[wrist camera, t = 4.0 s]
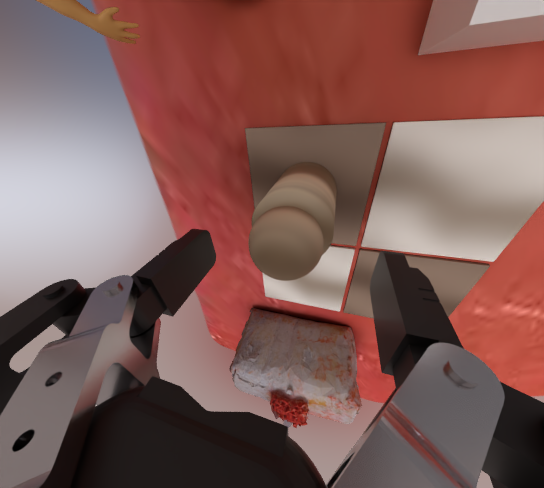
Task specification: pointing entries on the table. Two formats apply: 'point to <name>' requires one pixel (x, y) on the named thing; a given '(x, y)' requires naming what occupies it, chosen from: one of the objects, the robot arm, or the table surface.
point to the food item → (298, 367)
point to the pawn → (294, 222)
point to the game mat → (409, 199)
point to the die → (481, 24)
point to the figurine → (94, 19)
